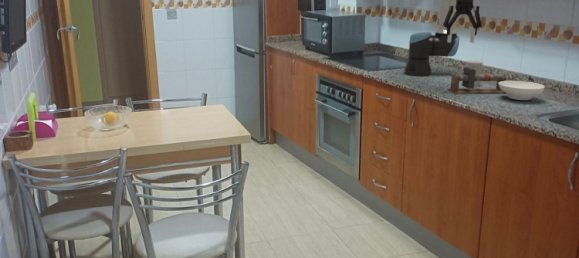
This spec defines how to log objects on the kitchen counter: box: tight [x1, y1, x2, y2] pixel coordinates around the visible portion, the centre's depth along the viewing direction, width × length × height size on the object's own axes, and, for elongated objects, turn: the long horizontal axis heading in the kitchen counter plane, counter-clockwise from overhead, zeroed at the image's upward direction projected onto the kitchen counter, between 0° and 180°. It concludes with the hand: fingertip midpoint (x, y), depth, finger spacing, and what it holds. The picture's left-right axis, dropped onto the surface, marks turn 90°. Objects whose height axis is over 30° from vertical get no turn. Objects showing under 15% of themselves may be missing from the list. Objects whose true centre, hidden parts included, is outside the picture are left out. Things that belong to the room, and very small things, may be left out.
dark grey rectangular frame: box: [461, 66, 476, 89], centre depth 259 cm, size 2×8×9 cm, turn 5°
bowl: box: [498, 80, 546, 101], centre depth 246 cm, size 20×20×7 cm
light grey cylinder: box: [464, 60, 483, 88], centre depth 277 cm, size 8×8×12 cm
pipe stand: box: [447, 73, 507, 95], centre depth 260 cm, size 26×8×9 cm, turn 95°
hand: (460, 42), depth 254 cm, fingers open, 10 cm apart
